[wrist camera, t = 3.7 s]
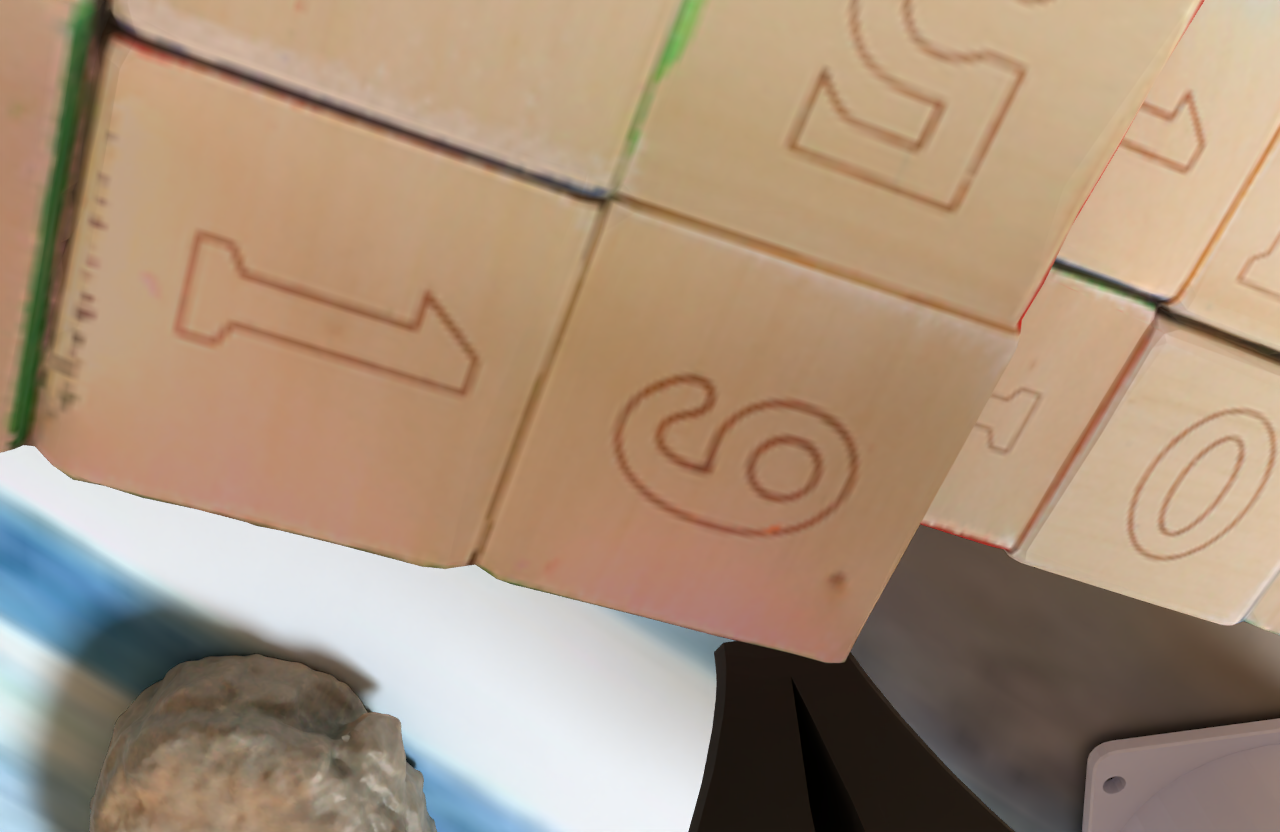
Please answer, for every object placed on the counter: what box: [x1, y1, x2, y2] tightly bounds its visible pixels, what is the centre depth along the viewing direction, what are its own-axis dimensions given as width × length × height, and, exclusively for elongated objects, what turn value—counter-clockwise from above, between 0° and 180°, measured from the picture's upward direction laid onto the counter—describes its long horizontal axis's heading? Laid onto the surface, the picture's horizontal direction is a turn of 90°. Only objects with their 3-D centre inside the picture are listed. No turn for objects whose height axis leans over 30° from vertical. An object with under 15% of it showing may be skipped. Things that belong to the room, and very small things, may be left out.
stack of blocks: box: [0, 0, 1280, 663], centre depth 13 cm, size 21×6×12 cm, turn 68°
